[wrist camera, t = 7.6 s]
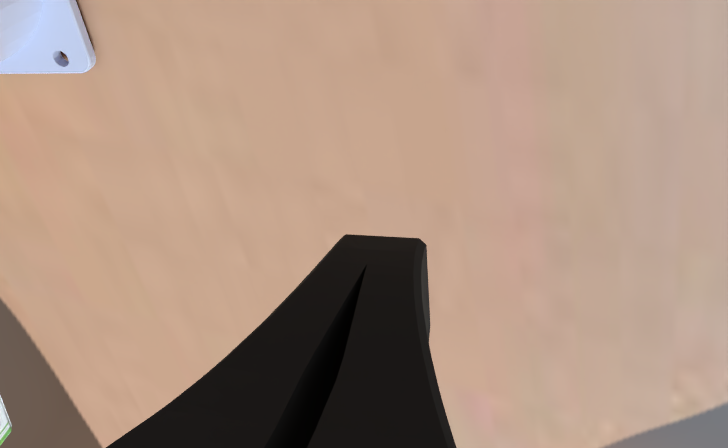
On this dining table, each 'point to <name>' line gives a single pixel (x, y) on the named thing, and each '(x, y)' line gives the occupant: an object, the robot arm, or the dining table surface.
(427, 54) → the dining table surface
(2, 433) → the syrup box
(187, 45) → the dining table surface
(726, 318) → the dining table surface
